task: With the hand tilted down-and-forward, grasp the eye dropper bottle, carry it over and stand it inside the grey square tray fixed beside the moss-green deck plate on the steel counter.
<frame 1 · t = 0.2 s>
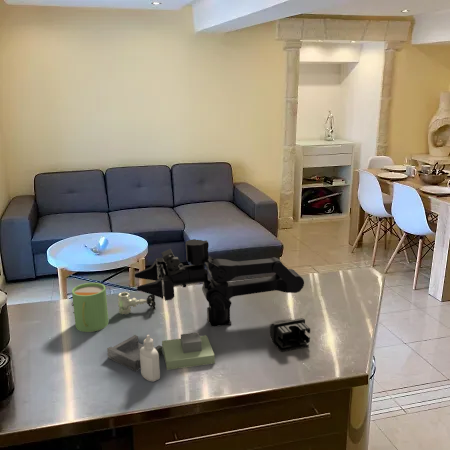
hand: (135, 281, 145), 16 cm above the counter, tool horizontal, fingers open, 9 cm apart
end cap: (289, 344, 142), on the counter
grey square tray: (136, 355, 137), on the counter
eye dropper bottle: (150, 377, 127), on the counter
deck plate: (187, 355, 136), on the counter
mug: (90, 326, 153), on the counter
valve: (137, 311, 163), on the counter
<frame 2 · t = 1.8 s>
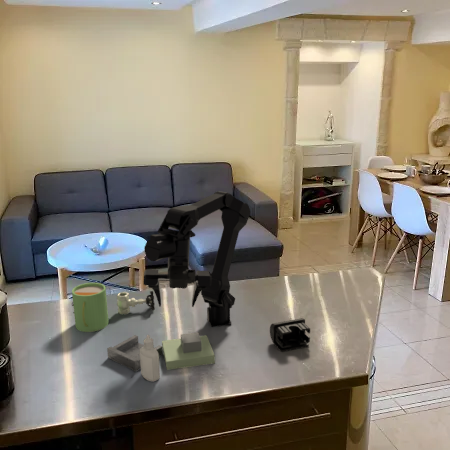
hand: (176, 306, 139), 12 cm above the counter, tool pointing down, fingers open, 9 cm apart
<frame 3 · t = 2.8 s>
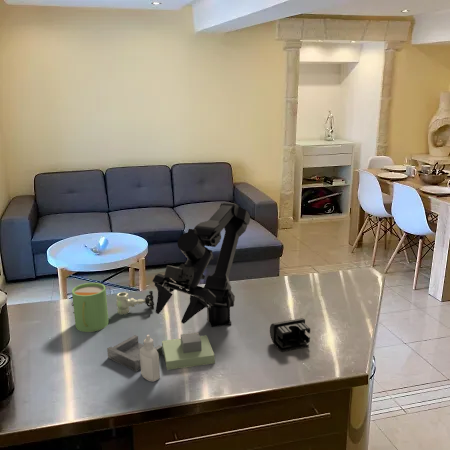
hand: (169, 318, 129), 13 cm above the counter, tool tilted 45°, fingers open, 9 cm apart
nothing on the counter moved.
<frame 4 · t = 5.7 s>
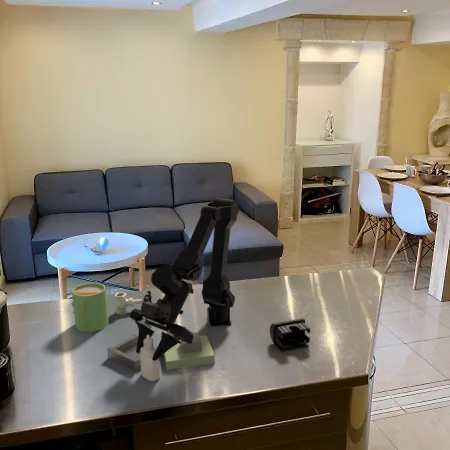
hand: (145, 356, 124), 7 cm above the counter, tool tilted 45°, fingers closed on eye dropper bottle, 5 cm apart
eye dropper bottle: (150, 377, 127), on the counter, touching gripper
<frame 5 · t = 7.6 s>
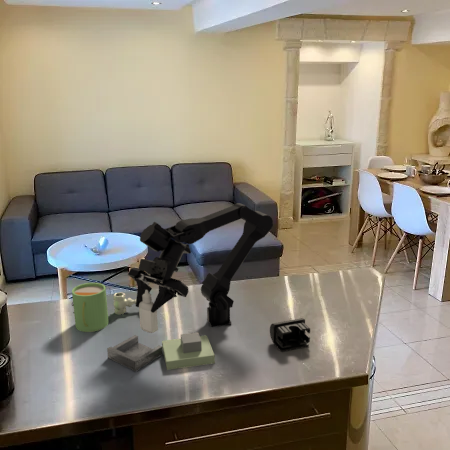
hand: (144, 309, 135), 13 cm above the counter, tool tilted 45°, fingers closed on eye dropper bottle, 5 cm apart
eye dropper bottle: (149, 329, 138), point 6 cm above the counter, touching gripper
when the fingers open (8 cm above the counter, at t = 9.8 s): eye dropper bottle stays where it is, resting on grey square tray.
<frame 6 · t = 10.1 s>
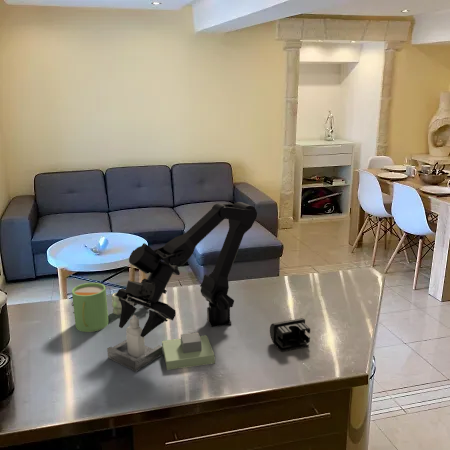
hand: (130, 332, 133), 8 cm above the counter, tool tilted 45°, fingers open, 8 cm apart
eye dropper bottle: (136, 354, 137), resting on grey square tray
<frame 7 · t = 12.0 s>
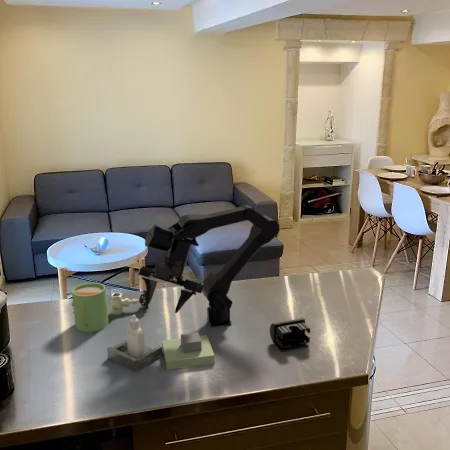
hand: (161, 308, 142), 10 cm above the counter, tool tilted 30°, fingers open, 9 cm apart
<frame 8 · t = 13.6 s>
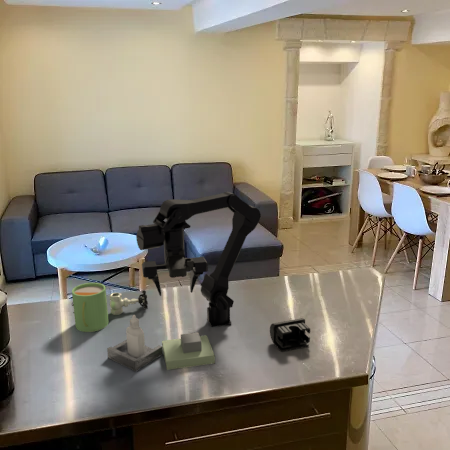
hand: (175, 293, 145), 13 cm above the counter, tool pointing down, fingers open, 9 cm apart
at the end: eye dropper bottle inside the target area on the grey square tray (0.1 cm from its centre), point 0.2 cm above the grey square tray's base; eye dropper bottle tilted 0°; the gripper is holding nothing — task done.
